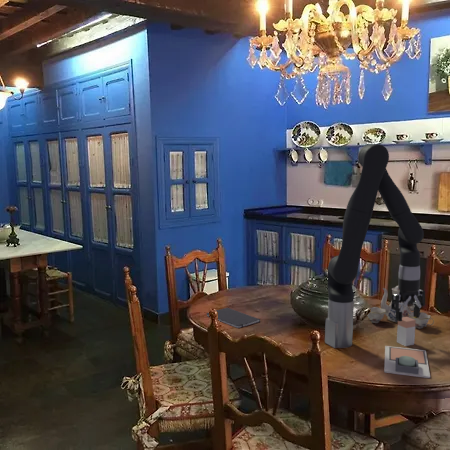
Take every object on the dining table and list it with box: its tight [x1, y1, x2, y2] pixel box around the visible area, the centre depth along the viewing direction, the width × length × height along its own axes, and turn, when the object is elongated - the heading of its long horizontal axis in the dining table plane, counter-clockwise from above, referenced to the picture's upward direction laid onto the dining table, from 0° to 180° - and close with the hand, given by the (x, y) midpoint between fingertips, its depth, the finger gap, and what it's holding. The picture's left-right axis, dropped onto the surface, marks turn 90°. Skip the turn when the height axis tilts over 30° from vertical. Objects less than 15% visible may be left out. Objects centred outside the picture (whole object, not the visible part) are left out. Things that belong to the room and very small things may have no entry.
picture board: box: [383, 345, 431, 379], centre depth 176 cm, size 22×14×3 cm, turn 162°
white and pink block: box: [396, 317, 416, 347], centre depth 192 cm, size 4×4×10 cm
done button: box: [399, 356, 415, 367], centre depth 168 cm, size 5×5×2 cm
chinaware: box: [367, 285, 435, 329], centre depth 215 cm, size 28×17×17 cm, turn 72°
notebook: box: [206, 307, 261, 329], centre depth 220 cm, size 13×2×21 cm
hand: (407, 318), depth 191 cm, fingers open, 8 cm apart
